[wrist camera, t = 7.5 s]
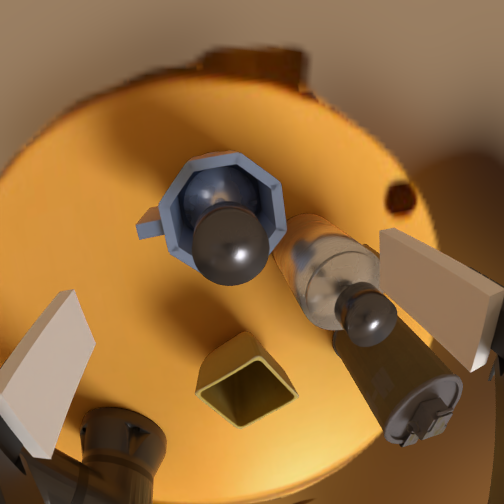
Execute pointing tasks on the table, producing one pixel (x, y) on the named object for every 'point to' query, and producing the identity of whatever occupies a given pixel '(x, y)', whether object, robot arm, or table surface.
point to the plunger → (225, 226)
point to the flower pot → (243, 381)
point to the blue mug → (175, 220)
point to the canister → (402, 383)
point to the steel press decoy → (335, 279)
